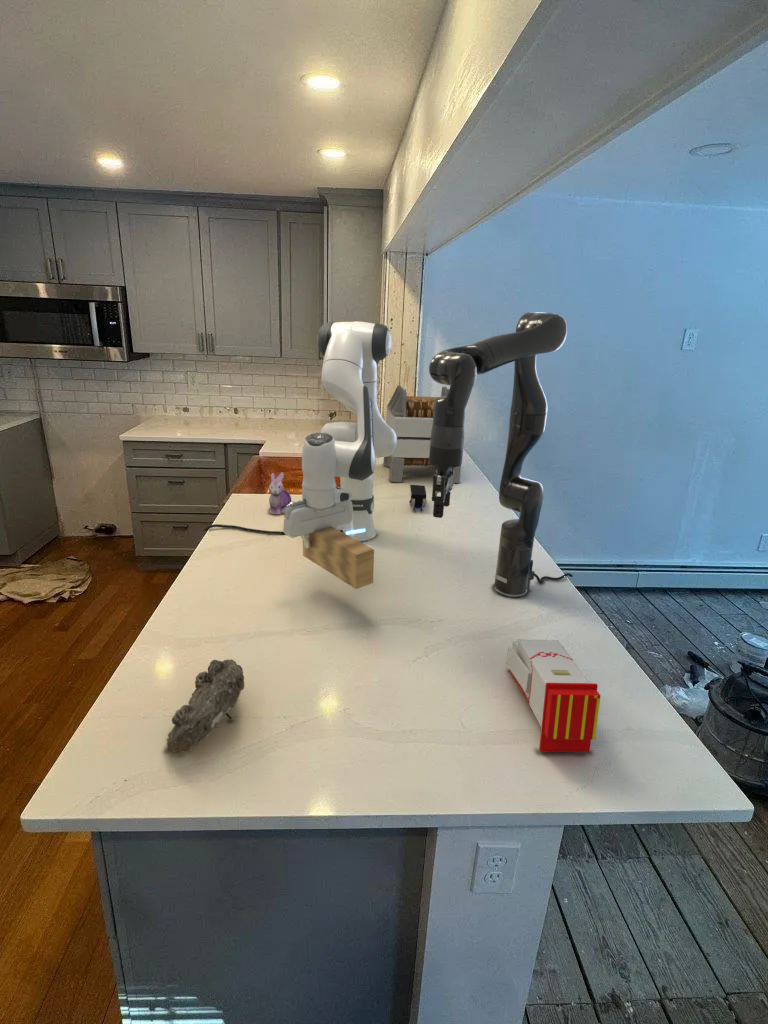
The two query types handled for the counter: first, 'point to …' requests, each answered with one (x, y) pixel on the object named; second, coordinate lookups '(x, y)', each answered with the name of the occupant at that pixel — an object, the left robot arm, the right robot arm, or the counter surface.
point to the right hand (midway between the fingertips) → (441, 511)
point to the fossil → (206, 705)
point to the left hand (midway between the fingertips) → (319, 544)
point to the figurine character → (418, 497)
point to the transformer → (411, 432)
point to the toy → (556, 694)
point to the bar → (341, 556)
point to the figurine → (278, 495)
